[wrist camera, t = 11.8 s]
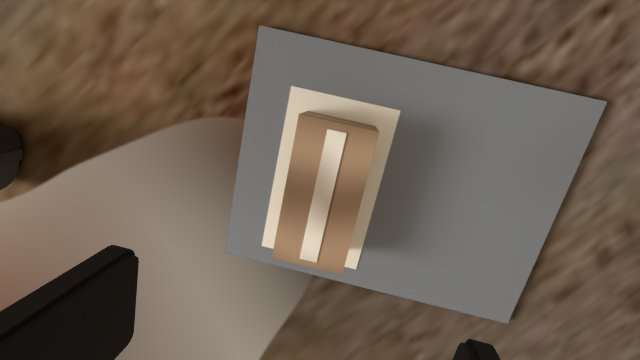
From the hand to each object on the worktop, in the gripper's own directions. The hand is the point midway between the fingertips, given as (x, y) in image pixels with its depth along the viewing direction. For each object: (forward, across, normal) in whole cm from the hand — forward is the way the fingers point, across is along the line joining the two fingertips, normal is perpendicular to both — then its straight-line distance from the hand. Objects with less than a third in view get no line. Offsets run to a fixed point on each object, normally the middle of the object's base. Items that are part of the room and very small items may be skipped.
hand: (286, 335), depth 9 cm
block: (+16, 0, 0) cm, 16 cm away
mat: (+17, -4, -1) cm, 18 cm away
